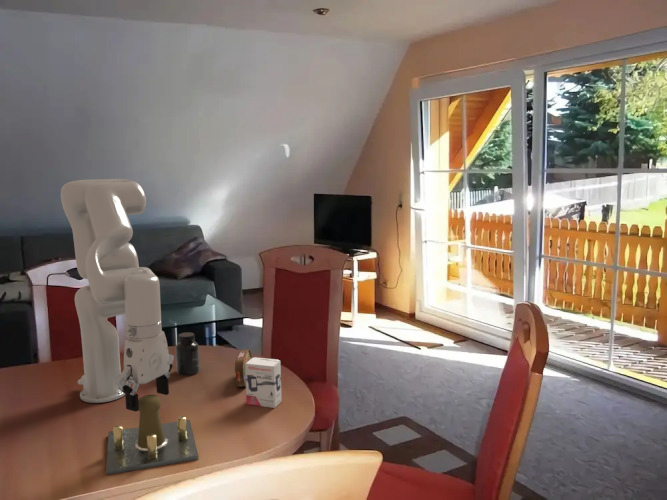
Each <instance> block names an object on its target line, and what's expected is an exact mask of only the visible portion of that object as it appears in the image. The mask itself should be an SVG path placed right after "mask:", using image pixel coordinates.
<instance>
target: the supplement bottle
mask: <svg viewBox="0 0 667 500" xmlns="http://www.w3.org/2000/svg"><path fill="white" fill-rule="evenodd" d="M177 337H178V343H177V344H176V345H175V361H176V363H175V364H176V373H177V374H178V375H179V376H182V375H183V377H184V376H193V375H196V374H199V372H200V353H199V352H200V351H199V350H200V349H199V344H198V342H196V341H195V340H196V337H195V333H193V332H182V333H179V334H178V336H177Z"/></svg>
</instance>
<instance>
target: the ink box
mask: <svg viewBox="0 0 667 500" xmlns="http://www.w3.org/2000/svg"><path fill="white" fill-rule="evenodd" d="M281 364H282V363H281V360H279V359H277V358H276V359H275V358H264V357H256V356H255V357H252V359H250V360H249V361H248V362H247V363H246V386H245V391H246V392H245V395H246V405H249V406H256V407H257V406H258V407H263V408H264V407H265V408H273V409H276V408H277V406H278V405H279V404H280V403H282V372H281V371H282V368H281Z"/></svg>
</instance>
